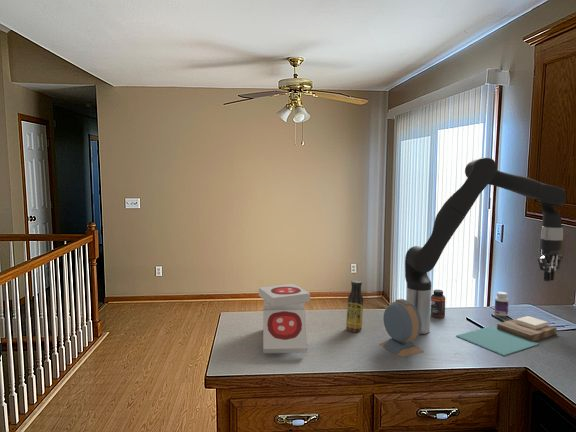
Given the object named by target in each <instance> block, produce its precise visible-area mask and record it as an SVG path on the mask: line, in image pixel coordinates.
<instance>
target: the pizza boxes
mask: <svg viewBox="0 0 576 432" xmlns="http://www.w3.org/2000/svg"><path fill="white" fill-rule="evenodd" d="M258 296H259V297H260V298H261V299H263V309H262V311H263V314H262V315H263V319H262V320H263V321H262V322H263V323H262V324H263V327H262V328H263V335H262V337H263V339H262V344H263V345H262V346H263V349H262V351H263V352H262V353H263V354H291V353H293V354H298V353H299V354H301V353H302V354H303V353H308V335H307V323H306V320H307V319H306V310H305V303H310V302H311V293H310V292H309V291H307V290H305V289H304V288H302V287H301V286H298V285H297V284H295V283H287V284H279V285H270V286H261V287H258Z"/></svg>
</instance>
